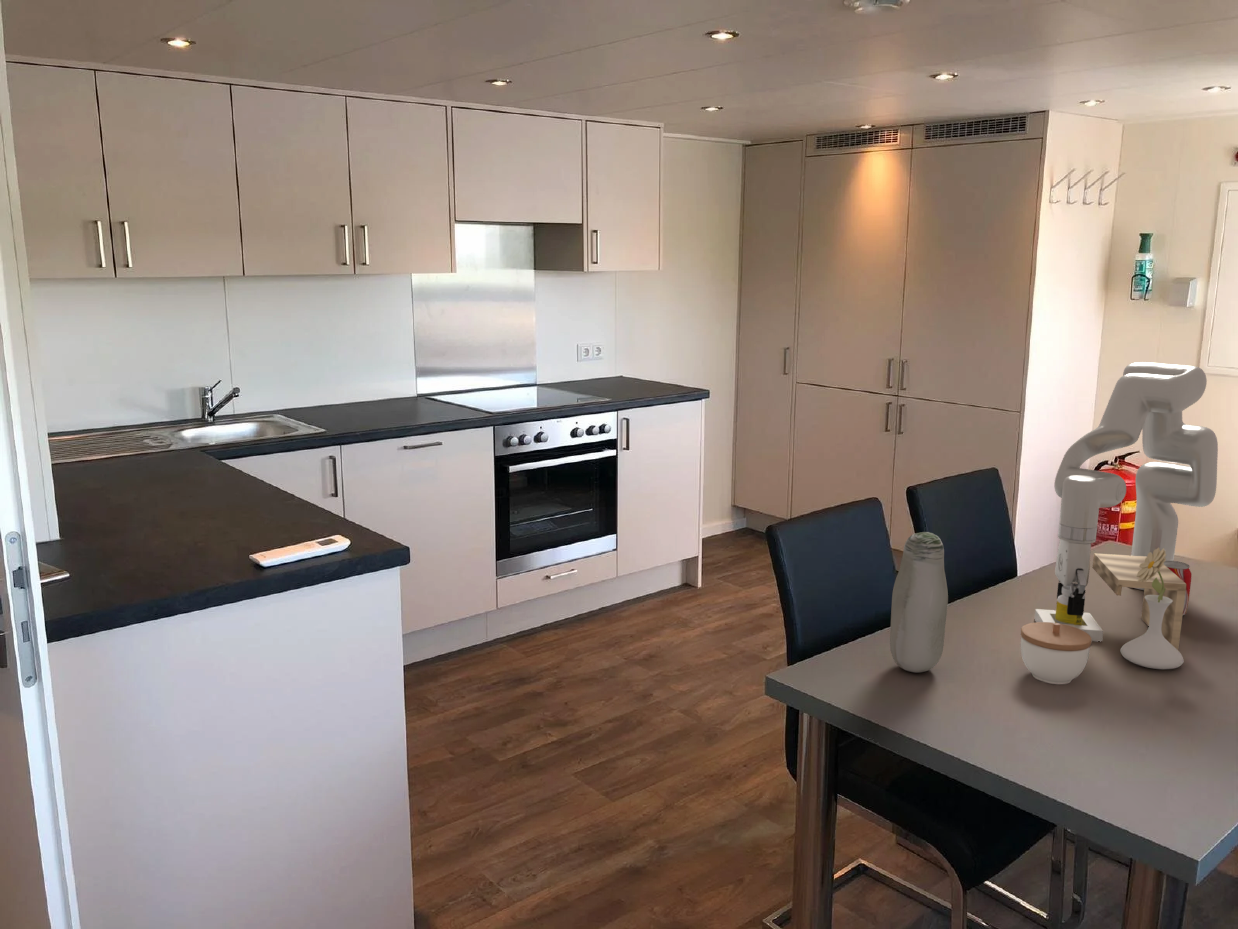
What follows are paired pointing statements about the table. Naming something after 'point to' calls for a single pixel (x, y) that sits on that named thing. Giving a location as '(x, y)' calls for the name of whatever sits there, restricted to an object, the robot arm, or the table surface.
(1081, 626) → the socket block
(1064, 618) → the supplement bottle
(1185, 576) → the soda can
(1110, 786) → the table surface
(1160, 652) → the flower in vase
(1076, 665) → the lidded bowl
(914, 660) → the grey bottle
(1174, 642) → the small wooden stool
